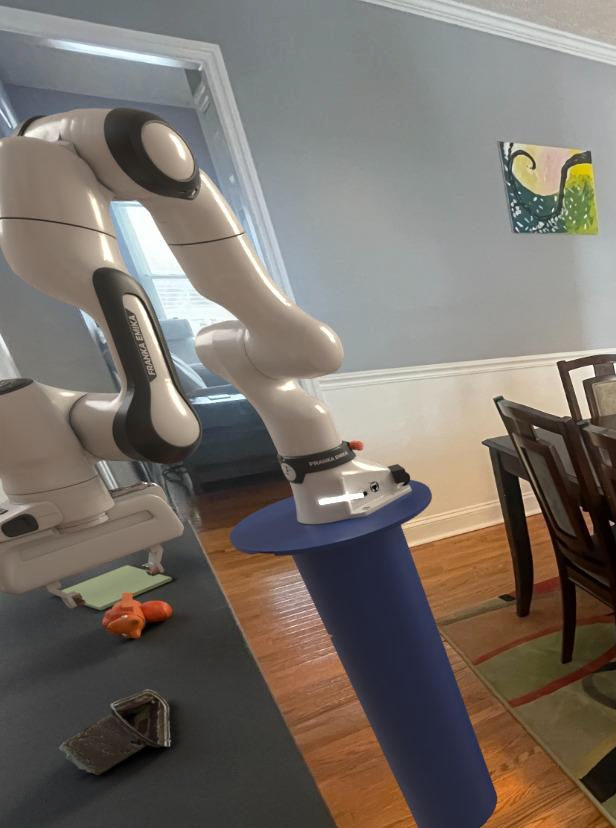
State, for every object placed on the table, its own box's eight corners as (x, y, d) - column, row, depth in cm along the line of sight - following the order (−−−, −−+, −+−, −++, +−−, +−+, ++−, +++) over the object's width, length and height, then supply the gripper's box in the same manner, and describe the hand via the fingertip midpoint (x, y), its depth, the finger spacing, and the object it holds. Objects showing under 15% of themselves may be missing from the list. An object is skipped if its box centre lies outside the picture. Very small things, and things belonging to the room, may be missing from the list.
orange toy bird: (100, 587, 91) (100, 617, 83) (168, 582, 97) (174, 610, 89) (103, 617, 92) (103, 650, 85) (170, 611, 98) (176, 641, 90)
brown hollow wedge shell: (94, 729, 72) (10, 725, 61) (158, 689, 75) (89, 678, 64) (141, 789, 72) (66, 796, 61) (204, 747, 75) (143, 746, 64)
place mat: (128, 567, 109) (127, 564, 109) (172, 580, 104) (171, 577, 104) (57, 595, 101) (54, 592, 101) (100, 610, 96) (98, 607, 96)
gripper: (144, 475, 91) (187, 554, 98) (-54, 530, 75) (13, 621, 81) (167, 479, 89) (210, 560, 95) (-31, 536, 72) (36, 630, 79)
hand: (118, 588), depth 88 cm, fingers open, 8 cm apart
